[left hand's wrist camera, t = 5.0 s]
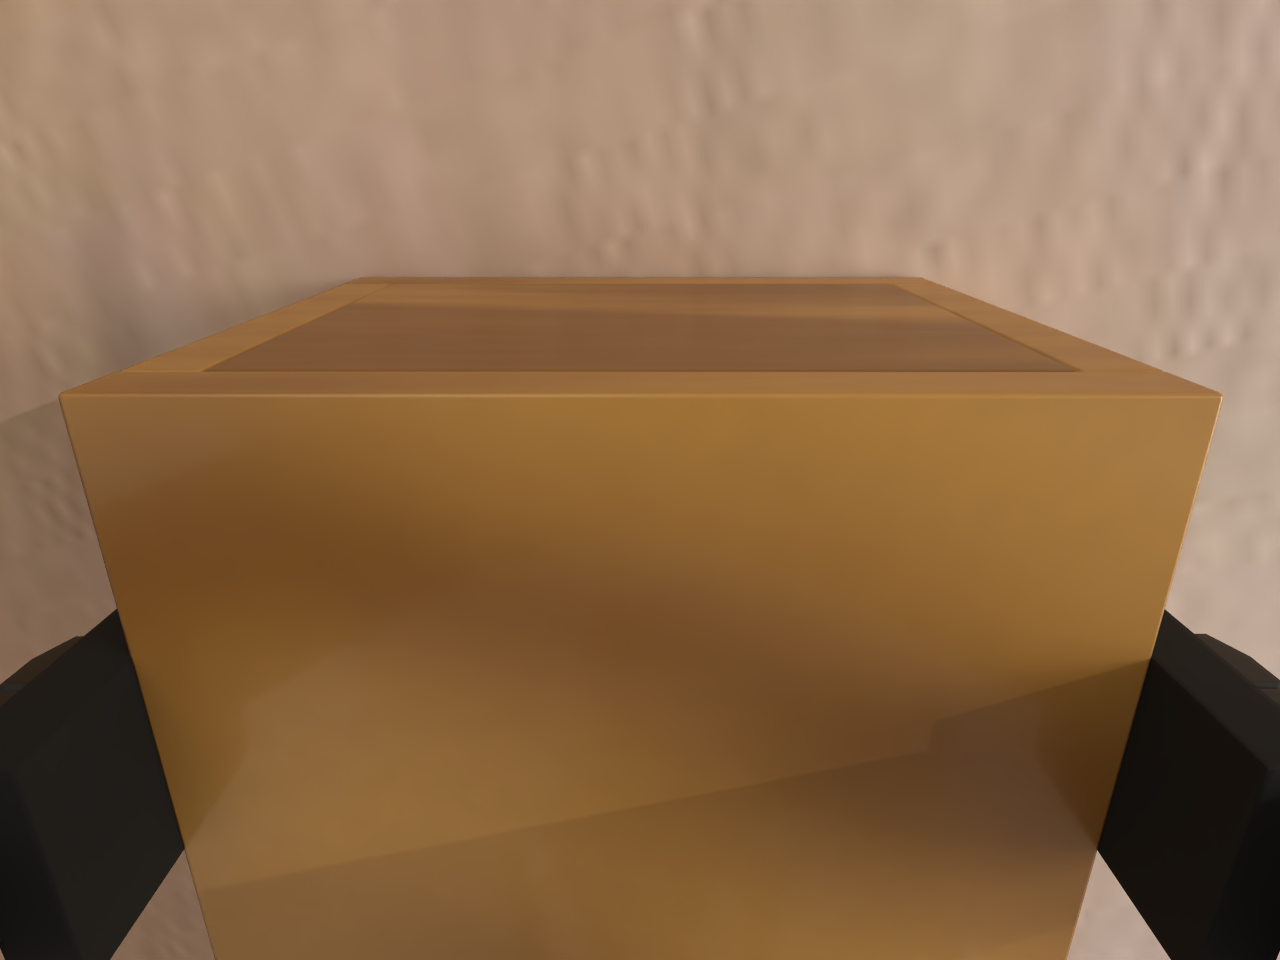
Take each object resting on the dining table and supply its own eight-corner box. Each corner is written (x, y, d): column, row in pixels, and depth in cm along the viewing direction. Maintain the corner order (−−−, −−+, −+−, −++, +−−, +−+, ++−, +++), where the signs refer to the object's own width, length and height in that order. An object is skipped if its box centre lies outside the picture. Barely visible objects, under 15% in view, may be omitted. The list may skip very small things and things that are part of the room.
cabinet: (825, 1036, 23) (921, 1484, 15) (456, 1036, 23) (359, 1482, 15) (923, 276, 15) (1228, 393, 7) (358, 277, 15) (53, 393, 7)
